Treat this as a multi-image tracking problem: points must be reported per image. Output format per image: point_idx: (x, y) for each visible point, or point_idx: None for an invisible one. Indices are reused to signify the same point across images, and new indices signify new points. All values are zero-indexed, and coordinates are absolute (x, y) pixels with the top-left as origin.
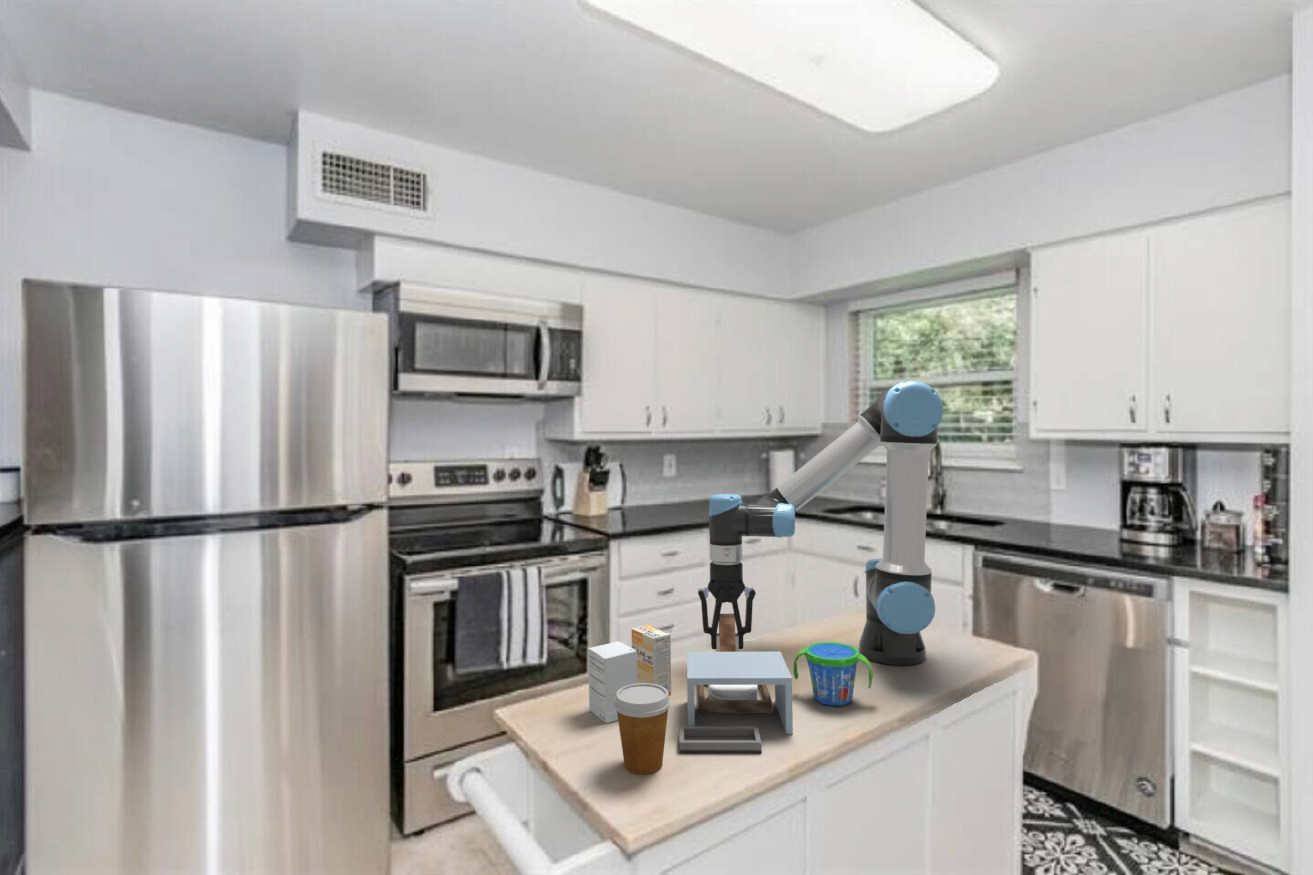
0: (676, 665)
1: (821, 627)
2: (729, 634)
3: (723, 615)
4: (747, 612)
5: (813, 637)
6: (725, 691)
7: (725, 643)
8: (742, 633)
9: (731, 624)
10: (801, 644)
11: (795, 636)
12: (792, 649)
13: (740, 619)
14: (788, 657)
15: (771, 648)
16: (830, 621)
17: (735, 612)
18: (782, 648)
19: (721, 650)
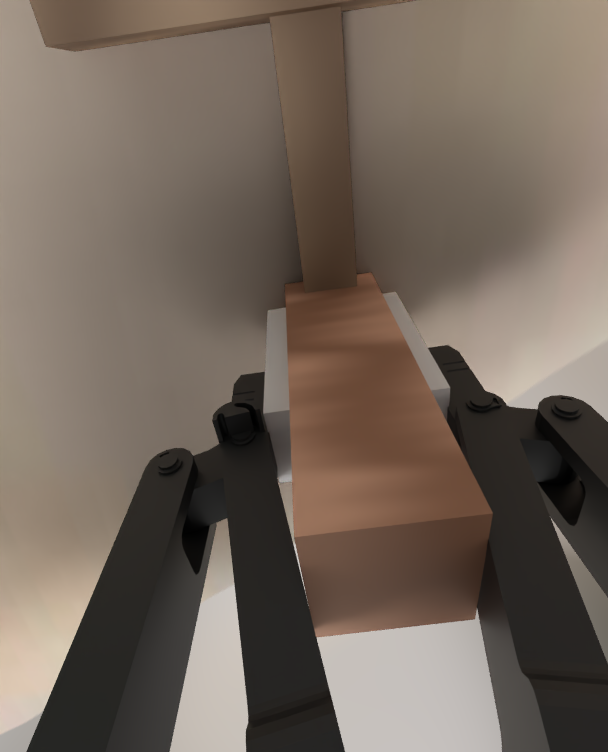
0: (603, 310)
1: (22, 694)
2: (342, 400)
3: (431, 583)
4: (133, 637)
5: (19, 635)
6: None
7: (366, 353)
8: (228, 436)
9: (332, 468)
10: (41, 584)
11: None
12: (61, 542)
13: (233, 542)
14: (51, 469)
15: None
16: (10, 726)
17: (291, 618)
18: (106, 545)
19: (387, 322)
